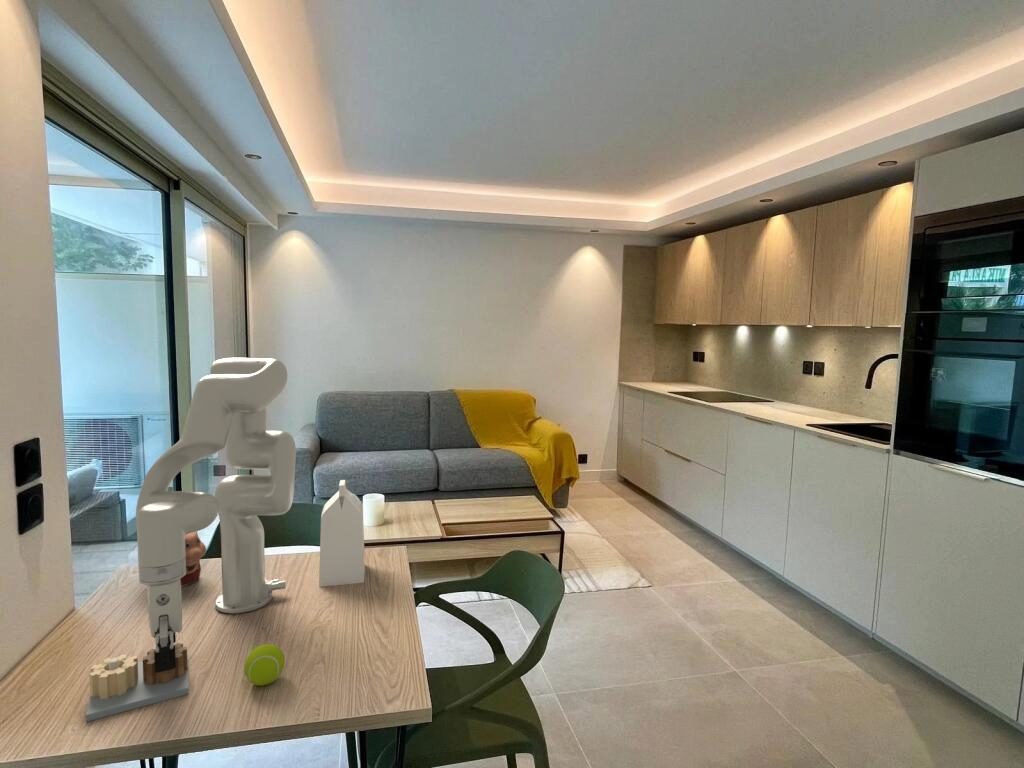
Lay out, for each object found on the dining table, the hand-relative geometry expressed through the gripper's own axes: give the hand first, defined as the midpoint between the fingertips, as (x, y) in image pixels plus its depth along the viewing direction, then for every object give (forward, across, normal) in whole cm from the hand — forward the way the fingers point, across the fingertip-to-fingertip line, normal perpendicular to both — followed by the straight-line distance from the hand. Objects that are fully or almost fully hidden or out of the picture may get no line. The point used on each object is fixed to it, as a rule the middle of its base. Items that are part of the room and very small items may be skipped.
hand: (165, 656), depth 106 cm
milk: (+5, +31, -41) cm, 52 cm away
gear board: (+4, 0, +4) cm, 6 cm away
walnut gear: (+3, 0, 0) cm, 3 cm away
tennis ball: (+5, -10, -16) cm, 19 cm away
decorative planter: (+5, +49, -1) cm, 49 cm away
